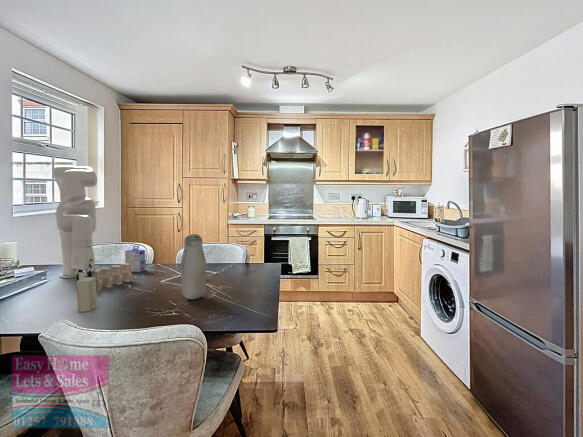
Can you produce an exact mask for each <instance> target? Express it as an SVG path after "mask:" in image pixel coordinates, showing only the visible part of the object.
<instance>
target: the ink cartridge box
mask: <svg viewBox="0 0 583 437" xmlns="http://www.w3.org/2000/svg"><path fill="white" fill-rule="evenodd" d="M139 248H140V245H133V247H132V249H126V250H125V251H124V263H128V264H131V273H132V272H133V273H135V272H136V273H140V272H145V271H146V249H139Z"/></svg>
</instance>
